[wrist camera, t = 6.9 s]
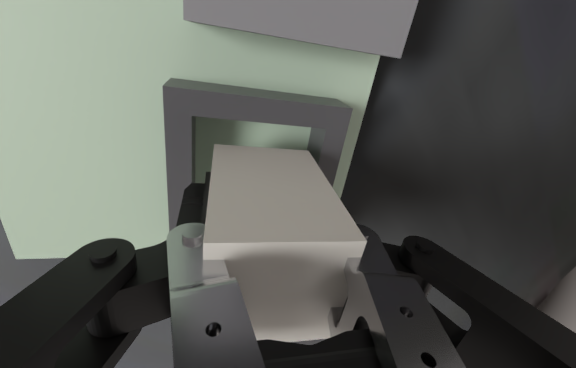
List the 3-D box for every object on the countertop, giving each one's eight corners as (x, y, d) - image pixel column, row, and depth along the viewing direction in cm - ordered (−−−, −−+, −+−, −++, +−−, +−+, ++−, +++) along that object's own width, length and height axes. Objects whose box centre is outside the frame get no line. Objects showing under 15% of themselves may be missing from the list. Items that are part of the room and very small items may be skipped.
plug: (214, 143, 11) (202, 242, 6) (308, 150, 12) (367, 241, 7) (212, 236, 13) (202, 366, 8) (291, 236, 14) (327, 352, 9)
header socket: (170, 77, 12) (162, 85, 10) (336, 98, 14) (352, 108, 12) (176, 235, 16) (170, 261, 14) (305, 234, 17) (314, 257, 16)
